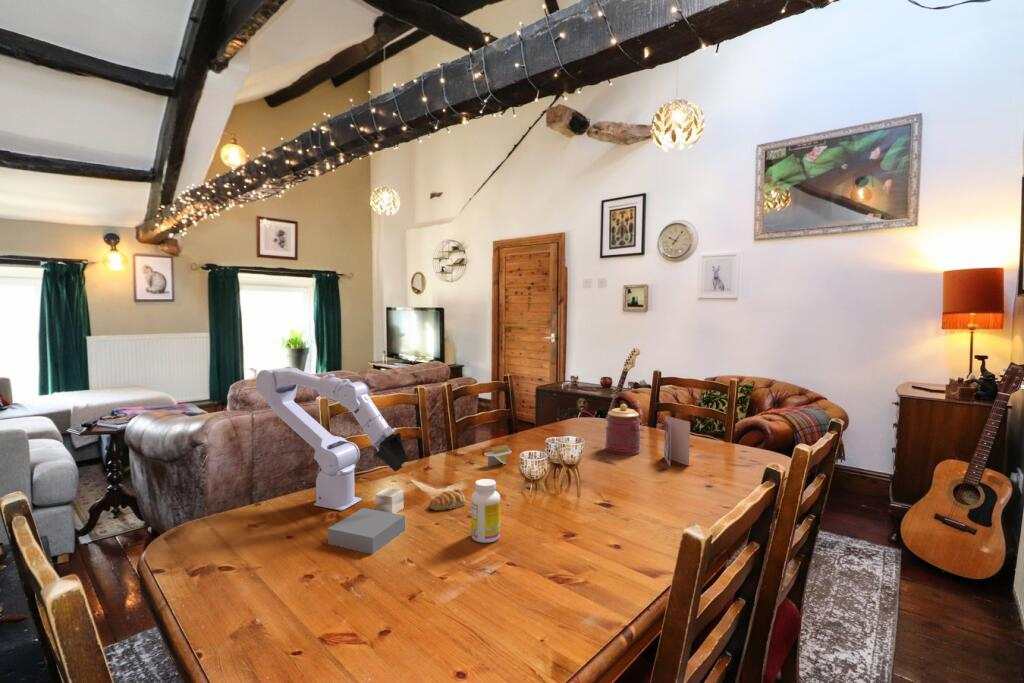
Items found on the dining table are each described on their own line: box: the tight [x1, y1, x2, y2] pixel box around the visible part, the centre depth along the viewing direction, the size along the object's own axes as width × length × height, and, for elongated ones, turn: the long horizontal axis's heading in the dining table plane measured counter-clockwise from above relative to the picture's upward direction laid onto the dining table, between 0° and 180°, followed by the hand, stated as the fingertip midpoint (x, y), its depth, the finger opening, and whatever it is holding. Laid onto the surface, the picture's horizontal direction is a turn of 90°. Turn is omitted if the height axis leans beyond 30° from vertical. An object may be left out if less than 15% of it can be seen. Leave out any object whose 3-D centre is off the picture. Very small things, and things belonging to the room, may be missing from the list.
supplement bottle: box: [470, 478, 501, 544], centre depth 109 cm, size 7×7×13 cm
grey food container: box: [483, 445, 512, 467], centre depth 161 cm, size 12×18×7 cm, turn 128°
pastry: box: [428, 488, 467, 511], centre depth 127 cm, size 9×7×4 cm
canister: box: [604, 403, 642, 456], centre depth 179 cm, size 13×13×18 cm
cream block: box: [375, 487, 405, 514], centre depth 124 cm, size 5×5×5 cm
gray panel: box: [327, 507, 406, 555], centre depth 109 cm, size 12×12×4 cm
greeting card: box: [663, 415, 691, 467], centre depth 165 cm, size 11×7×15 cm, turn 172°
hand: (401, 466), depth 122 cm, fingers open, 7 cm apart
